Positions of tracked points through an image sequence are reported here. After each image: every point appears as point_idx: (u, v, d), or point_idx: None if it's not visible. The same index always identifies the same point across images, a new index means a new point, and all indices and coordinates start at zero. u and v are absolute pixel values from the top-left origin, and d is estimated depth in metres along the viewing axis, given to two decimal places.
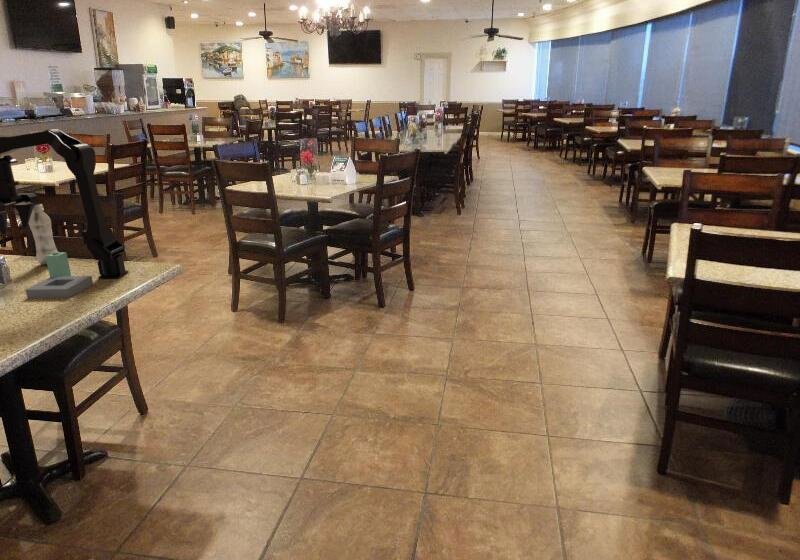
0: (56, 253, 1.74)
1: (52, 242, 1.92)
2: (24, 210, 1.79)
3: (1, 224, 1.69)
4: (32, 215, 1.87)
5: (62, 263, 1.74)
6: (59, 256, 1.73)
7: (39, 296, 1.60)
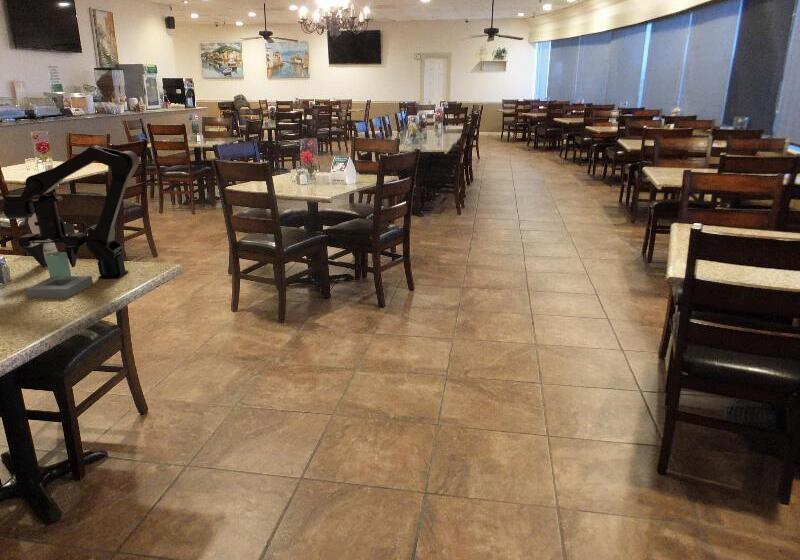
0: (56, 253, 1.74)
1: None
2: None
3: None
4: None
5: (62, 263, 1.74)
6: (59, 256, 1.73)
7: (39, 296, 1.60)
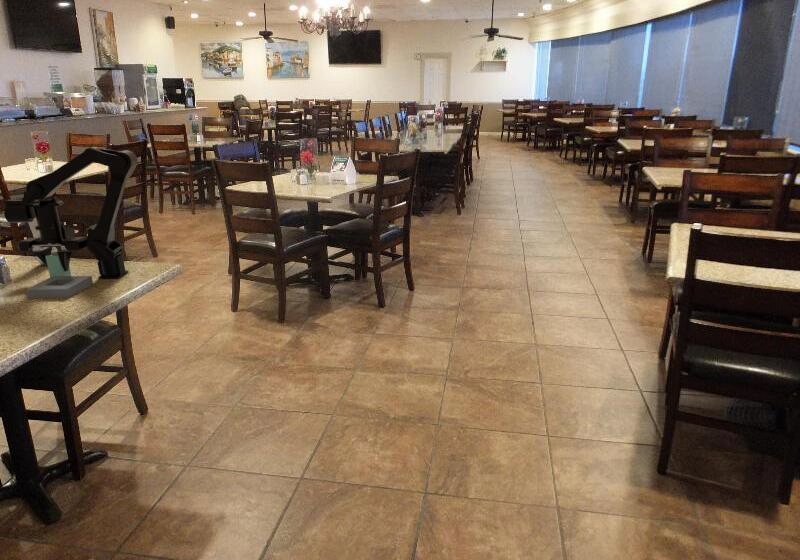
0: (56, 253, 1.74)
1: None
2: None
3: None
4: None
5: None
6: None
7: (39, 296, 1.60)
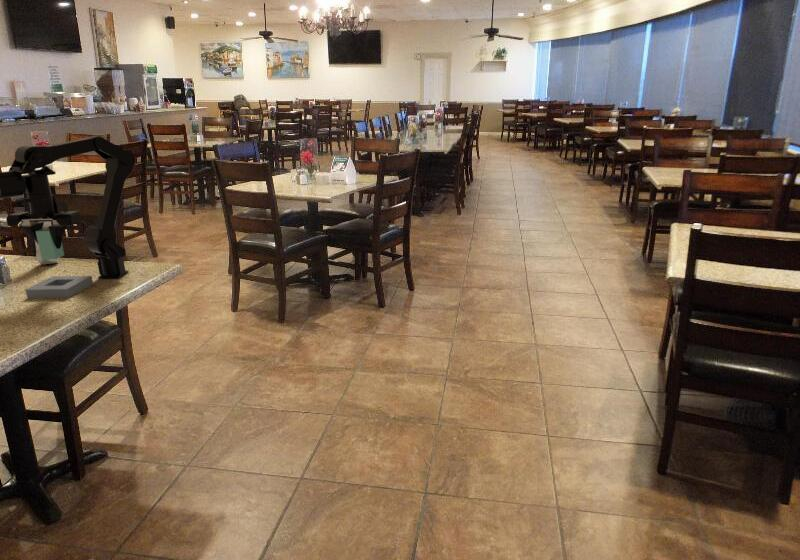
0: (47, 228, 1.60)
1: None
2: None
3: None
4: None
5: None
6: None
7: (39, 296, 1.60)
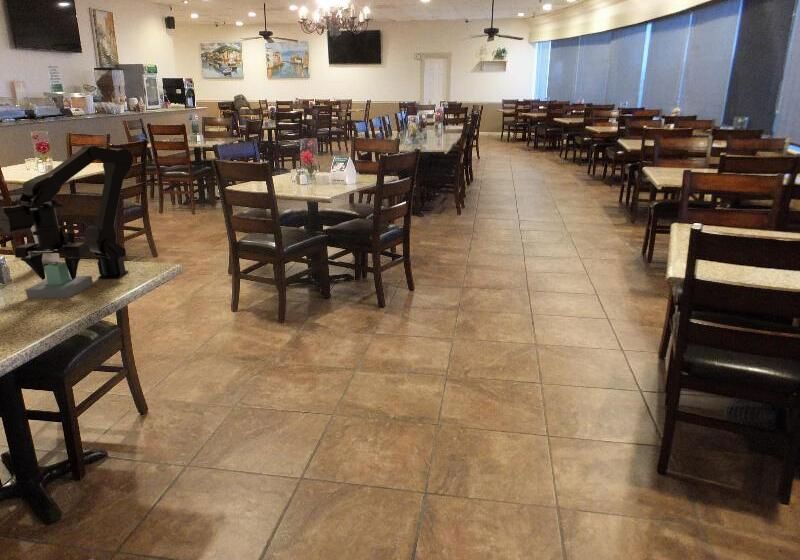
0: (55, 263, 1.63)
1: None
2: None
3: None
4: None
5: (62, 274, 1.64)
6: (59, 266, 1.62)
7: (39, 296, 1.60)
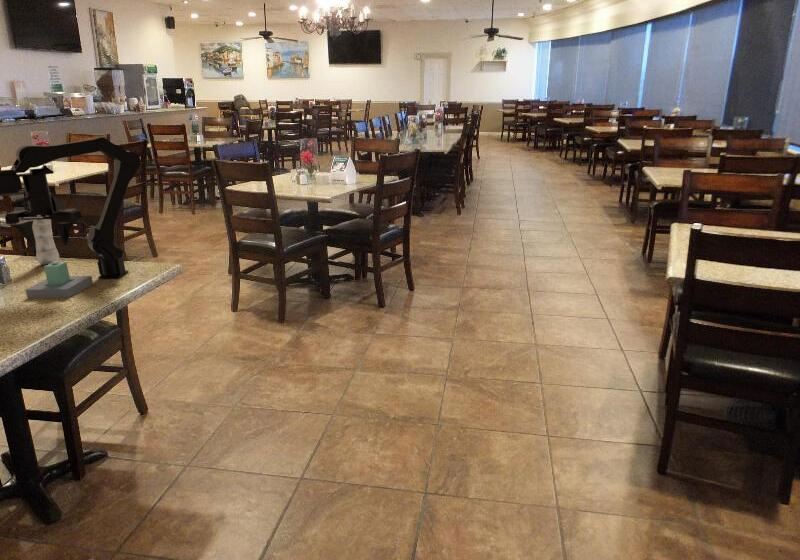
0: (55, 263, 1.63)
1: (52, 242, 1.92)
2: None
3: None
4: None
5: (62, 274, 1.64)
6: (59, 266, 1.62)
7: (39, 296, 1.60)
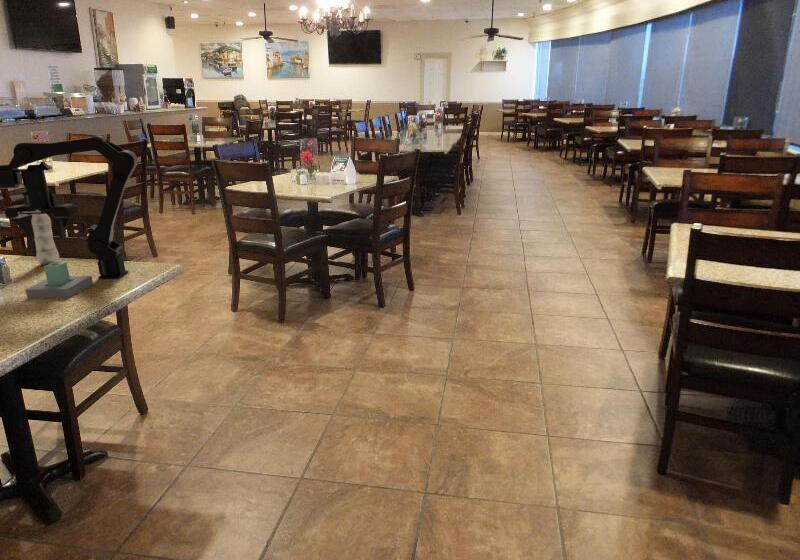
0: (55, 263, 1.63)
1: (52, 242, 1.92)
2: None
3: None
4: None
5: (62, 274, 1.64)
6: (59, 266, 1.62)
7: (39, 296, 1.60)
